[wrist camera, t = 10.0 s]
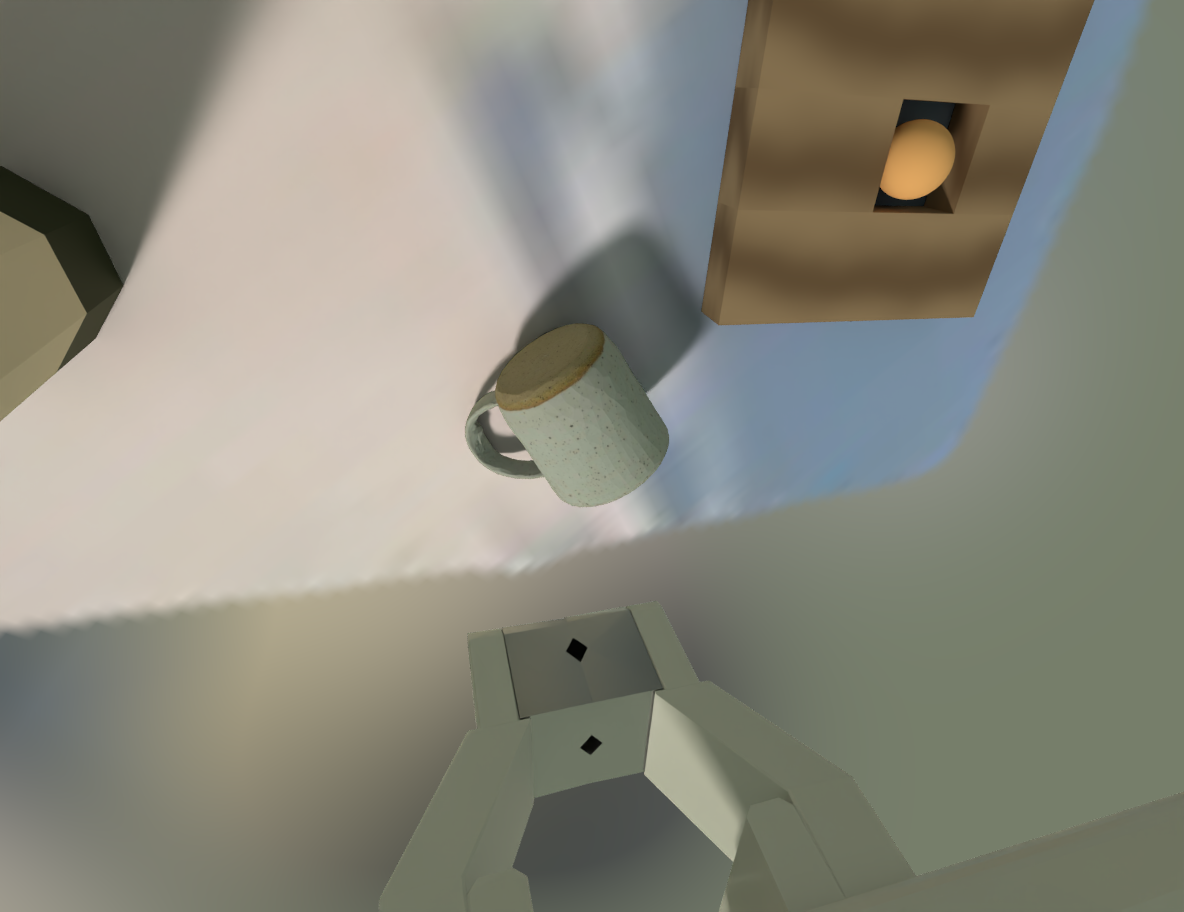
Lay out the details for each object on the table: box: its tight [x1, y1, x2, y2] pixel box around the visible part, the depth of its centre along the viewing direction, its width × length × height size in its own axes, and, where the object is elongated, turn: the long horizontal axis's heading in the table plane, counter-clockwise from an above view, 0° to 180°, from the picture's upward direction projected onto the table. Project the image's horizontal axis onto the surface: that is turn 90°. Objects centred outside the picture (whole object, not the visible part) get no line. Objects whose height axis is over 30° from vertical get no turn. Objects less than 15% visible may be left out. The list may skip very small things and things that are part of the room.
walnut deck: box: [701, 0, 1094, 325], centre depth 34 cm, size 18×18×2 cm
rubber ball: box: [880, 119, 955, 200], centre depth 34 cm, size 4×4×4 cm
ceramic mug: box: [465, 323, 669, 507], centre depth 35 cm, size 11×8×8 cm
